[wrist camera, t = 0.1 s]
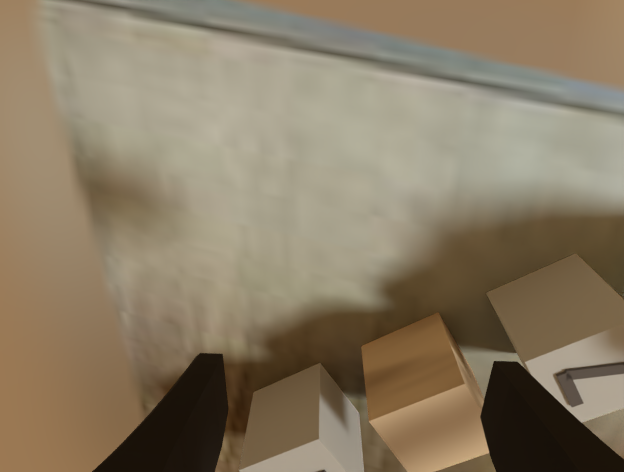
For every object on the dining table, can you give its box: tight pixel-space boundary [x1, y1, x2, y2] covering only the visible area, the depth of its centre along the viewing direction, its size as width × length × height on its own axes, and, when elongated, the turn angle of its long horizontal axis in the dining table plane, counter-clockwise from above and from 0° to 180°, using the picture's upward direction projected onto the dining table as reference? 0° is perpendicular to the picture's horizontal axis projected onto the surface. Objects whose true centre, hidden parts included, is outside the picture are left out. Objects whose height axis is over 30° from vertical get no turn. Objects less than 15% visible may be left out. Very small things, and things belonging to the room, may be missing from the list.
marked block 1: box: [239, 363, 364, 472], centre depth 24 cm, size 4×4×5 cm
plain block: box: [361, 312, 489, 472], centre depth 22 cm, size 4×4×5 cm
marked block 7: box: [486, 253, 624, 423], centre depth 20 cm, size 4×4×5 cm
